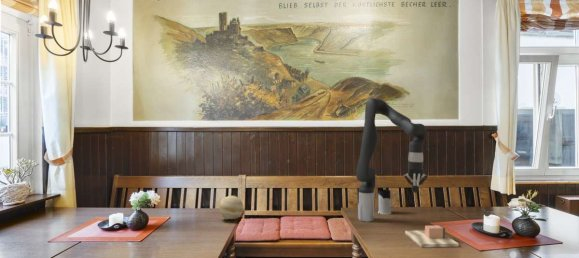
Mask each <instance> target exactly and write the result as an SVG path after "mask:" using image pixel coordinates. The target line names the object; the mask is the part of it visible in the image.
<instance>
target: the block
mask: <svg viewBox="0 0 579 258" xmlns="http://www.w3.org/2000/svg"><path fill="white" fill-rule="evenodd" d="M424 230H425V236H427V237H428V238H445V235H446V228H445V227H444V226H442V225H425V226H424Z"/></svg>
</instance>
